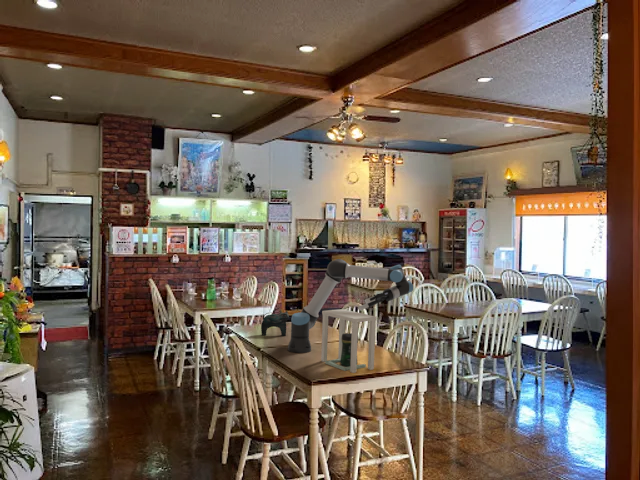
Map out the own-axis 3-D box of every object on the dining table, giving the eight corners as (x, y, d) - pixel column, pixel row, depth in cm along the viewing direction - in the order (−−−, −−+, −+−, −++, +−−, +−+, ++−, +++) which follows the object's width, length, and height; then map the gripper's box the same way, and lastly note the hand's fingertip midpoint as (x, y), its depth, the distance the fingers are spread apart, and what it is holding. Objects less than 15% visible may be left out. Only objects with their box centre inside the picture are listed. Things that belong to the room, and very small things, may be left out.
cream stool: (351, 373, 281) (353, 319, 280) (319, 361, 305) (320, 310, 304) (374, 369, 291) (376, 316, 290) (341, 357, 315) (343, 309, 315)
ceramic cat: (288, 335, 378) (289, 307, 377) (287, 336, 371) (288, 309, 371) (261, 334, 377) (262, 307, 377) (260, 336, 371) (261, 308, 370)
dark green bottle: (344, 367, 293) (345, 335, 292) (338, 364, 300) (339, 332, 300) (359, 366, 297) (360, 334, 296) (353, 362, 304) (354, 331, 304)
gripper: (400, 292, 314) (370, 304, 307) (387, 305, 336) (359, 316, 329) (394, 281, 316) (365, 293, 309) (382, 295, 338) (354, 306, 331)
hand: (362, 305), depth 319 cm, fingers open, 13 cm apart
